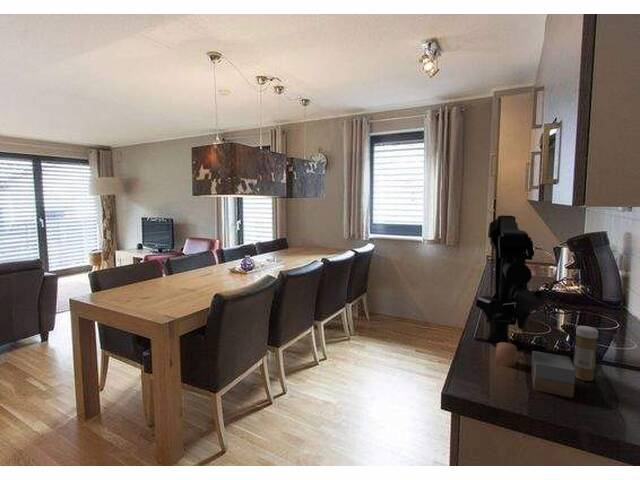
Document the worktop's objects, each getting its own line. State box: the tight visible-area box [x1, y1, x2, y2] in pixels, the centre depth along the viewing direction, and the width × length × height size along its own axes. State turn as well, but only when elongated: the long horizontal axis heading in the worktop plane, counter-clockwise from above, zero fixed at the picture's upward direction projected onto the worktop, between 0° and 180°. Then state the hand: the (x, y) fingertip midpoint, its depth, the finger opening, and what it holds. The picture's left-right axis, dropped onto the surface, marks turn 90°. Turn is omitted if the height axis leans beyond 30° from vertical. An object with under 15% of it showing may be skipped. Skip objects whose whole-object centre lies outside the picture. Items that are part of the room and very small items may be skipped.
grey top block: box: [531, 350, 576, 385], centre depth 88 cm, size 8×8×4 cm
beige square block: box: [530, 366, 575, 399], centre depth 89 cm, size 8×8×4 cm
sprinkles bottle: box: [573, 325, 599, 382], centre depth 92 cm, size 5×5×13 cm
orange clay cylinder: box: [495, 342, 518, 368], centre depth 101 cm, size 5×5×5 cm
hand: (507, 330), depth 100 cm, fingers open, 9 cm apart
